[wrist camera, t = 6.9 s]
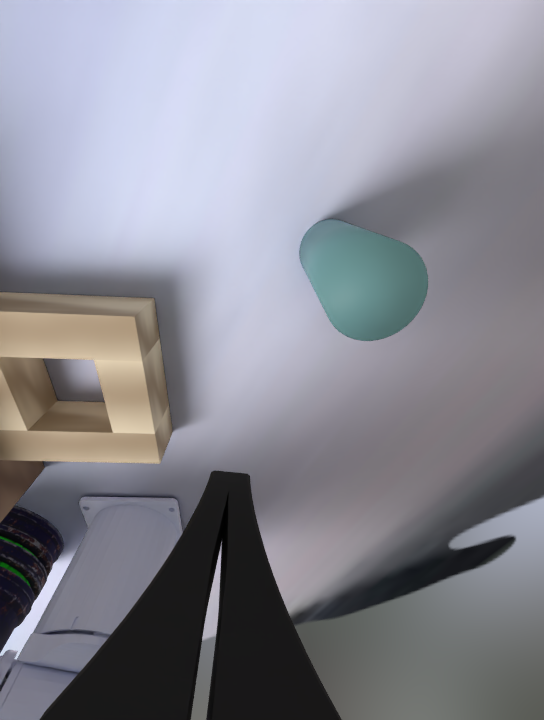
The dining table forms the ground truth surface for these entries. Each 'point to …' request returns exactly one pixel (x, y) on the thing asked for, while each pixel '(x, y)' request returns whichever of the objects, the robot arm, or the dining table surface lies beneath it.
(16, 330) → the light wooden square frame
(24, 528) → the storage jar
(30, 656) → the robot arm
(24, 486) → the backstop wall
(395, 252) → the dowel
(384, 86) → the dining table surface
